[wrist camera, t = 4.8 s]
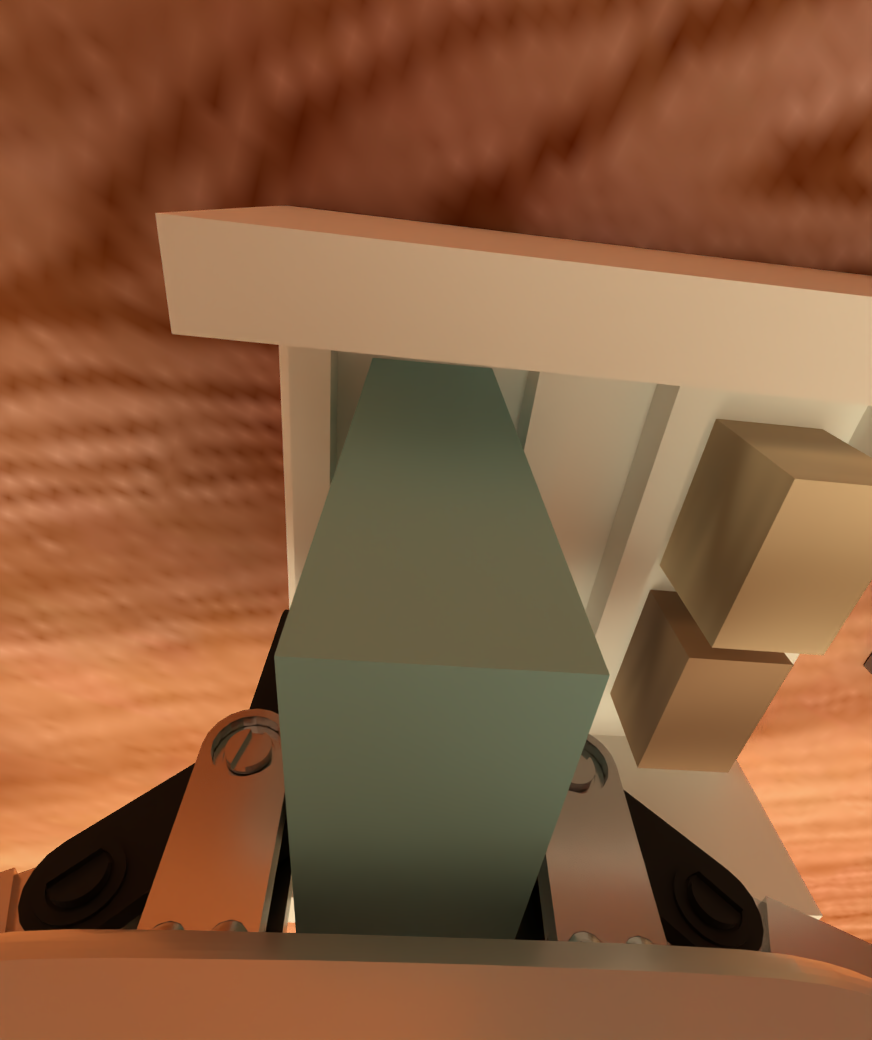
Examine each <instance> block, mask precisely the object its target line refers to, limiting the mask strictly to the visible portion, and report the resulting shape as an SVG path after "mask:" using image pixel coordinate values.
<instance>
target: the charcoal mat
mask: <svg viewBox="0 0 872 1040" xmlns="http://www.w3.org/2000/svg"><path fill="white" fill-rule="evenodd" d="M864 667H865V668H866V669H867V670H868V671H869V672H870V673H871V674H872V655H871V656H870V657H869V659H868V660H867V662H866V663H865V665H864Z"/></svg>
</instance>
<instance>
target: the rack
mask: <svg viewBox="0 0 872 1040" xmlns="http://www.w3.org/2000/svg"><path fill="white" fill-rule="evenodd" d="M155 215H156V223H157V230H158V237H159V245H160V252H161V259H162V267H163V274H164V281H165V289H166V296H167V303H168V310H169V318H170V325H171V332H172V334H178V335H188V336H198V337H207V338H217V339H227V340H236V341H246V342H256V343H266V344H275V345H279V364H280V389H281V413H282V438H283V463H284V488H285V513H286V537H287V562H288V587H289V610H290V607H291V604H292V601H293V597H294V594H295V591H296V588H297V585H298V582H299V579H300V576H301V573H302V570H303V567H304V564H305V561H306V558H307V555H308V552H309V549H310V546H311V543H312V540H313V537H314V534H315V531H316V528H317V525H318V522H319V519H320V516H321V513H322V510H323V507H324V504H325V501H326V498H327V495H328V492H329V488H330V485H331V482H332V479H333V476H334V473H335V470H336V467H337V464H338V461H339V458H340V455H341V452H342V449H343V446H344V443H345V440H346V437H347V434H348V431H349V428H350V425H351V422H352V419H353V416H354V413H355V410H356V407H357V404H358V401H359V398H360V395H361V392H362V389H363V386H364V383H365V380H366V376H367V373H368V370H369V367H370V364H371V361H372V358H382V359H393V360H404V361H415V362H426V363H437V364H448V365H460V366H471V367H482V368H492V369H493V372H494V374H495V377H496V380H497V382H498V385H499V387H500V390H501V393H502V395H503V398H504V401H505V403H506V406H507V408H508V411H509V414H510V416H511V419H512V421H513V424H514V427H515V429H516V432H517V434H518V437H519V440H520V442H521V445H522V447H523V450H524V453H525V455H526V458H527V461H528V463H529V466H530V468H531V471H532V474H533V476H534V479H535V481H536V484H537V487H538V489H539V492H540V494H541V497H542V500H543V502H544V505H545V507H546V510H547V513H548V515H549V518H550V520H551V523H552V526H553V528H554V531H555V534H556V536H557V539H558V541H559V544H560V547H561V549H562V552H563V554H564V557H565V560H566V562H567V565H568V567H569V570H570V573H571V575H572V578H573V580H574V583H575V586H576V588H577V591H578V593H579V596H580V599H581V601H582V604H583V607H584V609H585V612H586V614H587V617H588V620H589V622H590V625H591V627H592V630H593V633H594V635H595V638H596V640H597V643H598V646H599V648H600V651H601V653H602V656H603V659H604V661H605V664H606V666H607V669H608V672H609V674H610V676H609V679H608V681H607V684H606V687H605V690H604V692H603V695H602V698H601V701H600V704H599V706H598V709H597V712H596V715H595V718H594V720H593V723H592V726H591V729H590V731H589V734H590V735H592V736H593V737H595V738H596V739H597V740H599V741H600V742H601V743H602V744H603V745H604V746H605V747H606V748H607V750H608V751H609V752H610V753H611V755H612V757H613V759H614V761H615V764H616V766H617V769H618V773H619V776H620V780H621V783H622V787H623V789H624V790H625V791H626V792H628V793H629V794H630V795H631V796H633V797H634V798H635V799H637V800H638V801H639V802H641V803H642V804H643V805H644V806H646V807H647V808H648V809H650V810H651V811H652V812H654V813H655V814H656V815H657V816H659V817H660V818H661V819H663V820H664V821H665V822H667V823H668V824H669V825H671V826H672V827H673V828H674V829H676V830H677V831H678V832H680V833H681V834H682V835H684V836H685V837H686V838H687V839H689V840H690V841H691V842H693V843H694V844H695V845H697V846H698V847H699V848H700V849H702V850H703V851H704V852H706V853H707V854H708V855H710V856H711V857H712V858H713V859H715V860H716V861H717V862H719V863H720V864H721V865H723V866H724V867H725V868H726V869H728V870H729V871H730V872H731V873H732V874H733V875H734V876H735V877H736V878H737V879H738V880H740V881H741V882H742V884H743V885H744V886H745V888H746V889H747V891H748V892H749V893H750V895H751V896H752V897H754V898H756V899H758V900H761V901H762V900H763V899H764V898H765V896H768V897H770V898H772V899H774V900H777V901H779V902H781V903H783V904H785V905H787V906H790V907H792V908H794V909H796V910H798V911H800V912H803V913H805V914H807V915H809V916H811V917H813V918H816V919H818V920H819V919H820V918H821V917H822V914H821V912H820V910H819V908H818V907H817V905H816V903H815V901H814V899H813V897H812V896H811V894H810V892H809V890H808V888H807V887H806V885H805V883H804V881H803V879H802V878H801V876H800V874H799V872H798V870H797V869H796V867H795V865H794V863H793V861H792V859H791V858H790V856H789V854H788V852H787V850H786V849H785V847H784V845H783V843H782V841H781V840H780V838H779V836H778V834H777V832H776V830H775V829H774V827H773V825H772V823H771V821H770V820H769V818H768V816H767V814H766V812H765V811H764V809H763V807H762V805H761V803H760V802H759V800H758V798H757V796H756V794H755V792H754V791H753V789H752V787H751V785H750V783H749V782H748V780H747V778H746V776H745V774H744V773H743V771H742V769H741V767H740V765H739V764H738V762H737V760H736V761H735V762H734V764H733V765H732V767H731V769H730V770H729V772H728V773H725V772H706V771H687V770H668V769H649V768H637V765H636V762H635V760H634V757H633V754H632V752H631V749H630V746H629V743H628V741H627V738H626V735H625V733H624V730H623V727H622V725H621V722H620V719H619V717H618V714H617V711H616V708H615V706H614V703H613V700H612V698H611V695H610V692H611V690H612V687H613V685H614V682H615V679H616V677H617V674H618V672H619V669H620V666H621V664H622V661H623V659H624V656H625V653H626V651H627V648H628V646H629V643H630V641H631V638H632V635H633V633H634V630H635V628H636V625H637V622H638V620H639V617H640V615H641V612H642V609H643V607H644V604H645V602H646V599H647V596H648V594H649V591H650V590H662V591H675V592H676V590H675V589H674V587H673V586H672V584H671V582H670V581H669V579H668V578H667V576H666V575H665V573H664V571H663V570H662V568H661V567H660V563H661V560H662V557H663V555H664V552H665V550H666V547H667V545H668V542H669V539H670V537H671V534H672V532H673V529H674V526H675V524H676V521H677V519H678V516H679V513H680V511H681V508H682V506H683V503H684V500H685V498H686V495H687V493H688V490H689V487H690V485H691V482H692V480H693V477H694V474H695V472H696V469H697V467H698V464H699V461H700V459H701V456H702V454H703V451H704V449H705V446H706V443H707V441H708V438H709V436H710V433H711V430H712V428H713V425H714V423H715V420H716V419H725V420H735V421H745V422H756V423H766V424H776V425H786V426H796V427H806V428H816V429H823V430H825V431H827V432H828V433H830V434H832V435H833V436H835V437H837V438H839V439H840V440H842V441H844V442H845V443H847V444H849V445H851V446H852V447H854V448H856V449H857V450H859V451H861V452H863V453H864V454H866V455H868V456H869V457H871V458H872V276H871V275H862V274H854V273H846V272H837V271H829V270H821V269H812V268H804V267H796V266H787V265H779V264H771V263H762V262H754V261H746V260H737V259H729V258H721V257H712V256H704V255H696V254H687V253H679V252H671V251H662V250H654V249H646V248H637V247H629V246H621V245H612V244H604V243H596V242H587V241H579V240H571V239H562V238H554V237H546V236H537V235H529V234H521V233H512V232H504V231H496V230H487V229H479V228H471V227H462V226H454V225H446V224H437V223H429V222H421V221H412V220H404V219H396V218H387V217H379V216H371V215H362V214H354V213H346V212H337V211H329V210H321V209H312V208H304V207H296V206H287V205H282V206H265V207H248V208H231V209H214V210H197V211H180V212H163V213H155ZM785 655H786V656H787V657H788V658H789V660H790V661H791V662H792V663H793V664H794V663H795V661H796V659H797V658H798V656H799V654H797V653H785ZM288 922H295V912H294V900H293V890H292V897H291V904H290V910H289V917H288Z"/></svg>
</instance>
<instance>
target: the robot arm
mask: <svg viewBox="0 0 872 1040" xmlns="http://www.w3.org/2000/svg"><path fill="white" fill-rule="evenodd" d="M288 613H289V610H285V611H284V612H283V614H282V616H281V619H280V622H279V625H278V628H277V631H276V634H275V637H274V640H273V642H272V645H271V648H270V651H269V654H268V657H267V660H266V663H265V666H264V669H263V672H262V674H261V677H260V680H259V683H258V686H257V689H256V692H255V695H254V698H253V701H252V703H251V706H250V709H249V710H243V711H240V712H237V713H234V714H231V715H229V716H228V717H226V718H224V719H223V720H221V721H219V722H218V723H217V724H216V725H215V726H214V727H213V728H212V729H211V730H210V731H209V732H208V734H207V736H206V738H205V739H204V741H203V743H202V745H201V748H200V751H199V754H198V757H197V760H196V763H194V764H193V765H191V766H189V767H188V768H186V769H184V770H183V771H181V772H179V773H178V774H176V775H175V776H173V777H171V778H170V779H168V780H166V781H165V782H163V783H161V784H160V785H158V786H156V787H155V788H153V789H151V790H150V791H148V792H147V793H145V794H143V795H142V796H140V797H138V798H137V799H135V800H133V801H132V802H130V803H128V804H127V805H125V806H123V807H122V808H120V809H119V810H117V811H115V812H114V813H112V814H110V815H109V816H107V817H105V818H104V819H102V820H100V821H99V822H97V823H95V824H94V825H92V826H90V827H89V828H87V829H86V830H84V831H82V832H81V833H79V834H77V835H76V836H74V837H72V838H71V839H69V840H67V841H66V842H64V843H63V844H61V845H60V846H59V847H57V848H56V849H55V850H53V851H52V852H51V853H49V854H48V855H47V856H46V857H45V858H44V859H43V860H42V861H41V863H40V864H39V865H38V866H37V867H36V868H33V869H30V870H27V871H24V872H21V873H17V871H16V869H15V868H12V869H9V870H6V871H3V872H0V1040H872V944H870V943H868V942H866V941H863V940H861V939H859V938H857V937H855V936H852V935H850V934H848V933H846V932H844V931H842V930H839V929H837V928H835V927H833V926H831V925H829V924H826V923H824V922H822V921H820V920H818V919H816V918H813V917H811V916H809V915H807V914H805V913H803V912H800V911H798V910H796V909H794V908H792V907H790V906H787V905H785V904H783V903H781V902H779V901H777V900H774V899H772V898H770V897H768V896H765V898H764V899H763V900H762V901H761V900H758V899H756V898H754V897H752V896H751V895H750V893H749V892H748V891H747V889H746V888H745V886H744V885H743V884H742V882H741V881H740V880H738V879H737V878H736V877H735V876H734V875H733V874H732V873H731V872H730V871H729V870H728V869H726V868H725V867H724V866H723V865H721V864H720V863H719V862H717V861H716V860H715V859H713V858H712V857H711V856H710V855H708V854H707V853H706V852H704V851H703V850H702V849H700V848H699V847H698V846H697V845H695V844H694V843H693V842H691V841H690V840H689V839H687V838H686V837H685V836H684V835H682V834H681V833H680V832H678V831H677V830H676V829H674V828H673V827H672V826H671V825H669V824H668V823H667V822H665V821H664V820H663V819H661V818H660V817H659V816H657V815H656V814H655V813H654V812H652V811H651V810H650V809H648V808H647V807H646V806H644V805H643V804H642V803H641V802H639V801H638V800H637V799H635V798H634V797H633V796H631V795H630V794H629V793H628V792H626V791H625V790H624V789H623V787H622V783H621V780H620V776H619V773H618V769H617V766H616V764H615V761H614V759H613V757H612V755H611V753H610V752H609V751H608V750H607V748H606V747H605V746H604V745H603V744H602V743H601V742H600V741H599V740H597V739H596V738H595V737H593V736H592V735H590V734H588V737H587V740H586V743H585V745H584V748H583V751H582V754H581V756H580V759H579V762H578V765H577V768H576V770H575V773H574V776H573V779H572V781H571V784H570V787H569V790H568V793H567V795H566V798H565V801H564V804H563V806H562V809H561V812H560V815H559V818H558V820H557V823H556V826H555V829H554V831H553V834H552V837H551V840H550V843H549V845H548V848H547V851H546V854H545V856H544V859H543V862H542V865H541V868H540V870H539V873H538V876H537V879H536V882H535V884H534V887H533V890H532V893H531V895H530V898H529V901H528V904H527V907H526V909H525V912H524V915H523V918H522V920H521V923H520V926H519V929H518V932H517V934H516V937H515V940H512V939H480V938H448V937H416V936H383V935H350V934H314V933H286V931H287V924H288V917H289V910H290V904H291V897H292V890H293V887H292V874H291V862H290V849H289V837H288V824H287V812H286V799H285V787H284V774H283V762H282V749H281V736H280V724H279V711H278V699H277V686H276V674H275V661H274V655H275V652H276V649H277V646H278V643H279V640H280V637H281V634H282V631H283V628H284V625H285V622H286V619H287V616H288Z"/></svg>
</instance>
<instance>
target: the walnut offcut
mask: <svg viewBox="0 0 872 1040" xmlns="http://www.w3.org/2000/svg"><path fill="white" fill-rule="evenodd" d="M792 667H793V663H792V662H791V661H790V660H789V658H788V657H787V656H786V655H785V653H783V652H768V651H754V650H739V649H725V648H712V647H711V645H710V644H709V642H708V641H707V639H706V638H705V636H704V634H703V633H702V631H701V630H700V628H699V627H698V625H697V623H696V622H695V620H694V619H693V617H692V615H691V614H690V612H689V611H688V609H687V608H686V606H685V604H684V603H683V601H682V600H681V598H680V597H679V595H678V593H677V592H675V591H662V590H650V591H649V594H648V596H647V599H646V602H645V604H644V607H643V609H642V612H641V615H640V617H639V620H638V622H637V625H636V628H635V630H634V633H633V635H632V638H631V641H630V643H629V646H628V648H627V651H626V653H625V656H624V659H623V661H622V664H621V666H620V669H619V672H618V674H617V677H616V679H615V682H614V685H613V687H612V690H611V692H610V695H611V698H612V700H613V703H614V706H615V708H616V711H617V714H618V717H619V719H620V722H621V725H622V727H623V730H624V733H625V735H626V738H627V741H628V743H629V746H630V749H631V752H632V754H633V757H634V760H635V762H636V765H637V768H649V769H668V770H687V771H706V772H725V773H728V772H729V770H730V769H731V767H732V765H733V764H734V762H735V761H736V759H737V757H738V756H739V754H740V752H741V751H742V749H743V747H744V746H745V744H746V742H747V741H748V739H749V738H750V736H751V734H752V733H753V731H754V729H755V728H756V726H757V724H758V723H759V721H760V719H761V718H762V716H763V715H764V713H765V711H766V710H767V708H768V706H769V705H770V703H771V701H772V700H773V698H774V696H775V695H776V693H777V692H778V690H779V688H780V687H781V685H782V683H783V682H784V680H785V678H786V677H787V675H788V673H789V672H790V670H791V669H792Z"/></svg>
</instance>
